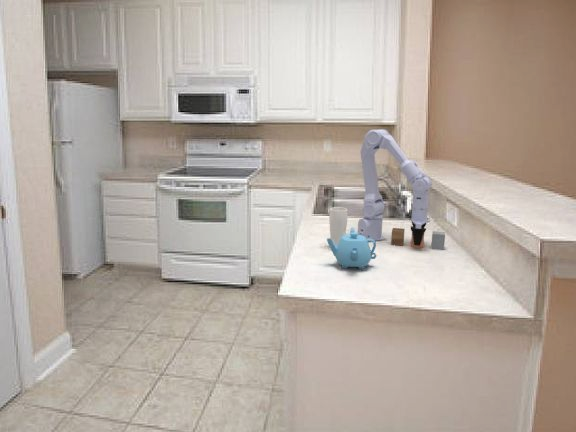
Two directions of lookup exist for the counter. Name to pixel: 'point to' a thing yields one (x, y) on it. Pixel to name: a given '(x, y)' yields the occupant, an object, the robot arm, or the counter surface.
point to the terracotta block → (417, 245)
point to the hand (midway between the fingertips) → (417, 242)
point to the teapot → (353, 250)
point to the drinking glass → (338, 223)
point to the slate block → (438, 240)
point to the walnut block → (397, 237)
